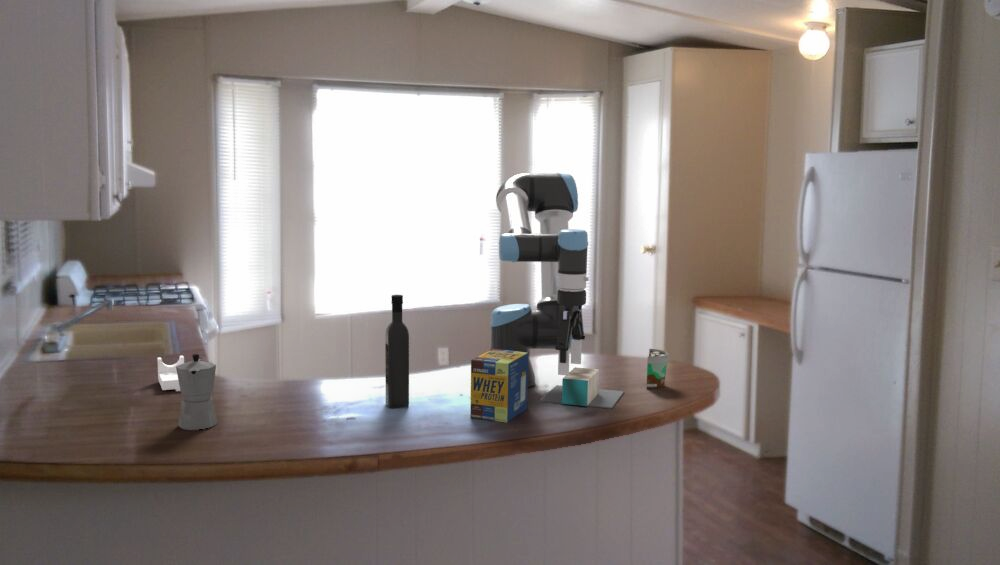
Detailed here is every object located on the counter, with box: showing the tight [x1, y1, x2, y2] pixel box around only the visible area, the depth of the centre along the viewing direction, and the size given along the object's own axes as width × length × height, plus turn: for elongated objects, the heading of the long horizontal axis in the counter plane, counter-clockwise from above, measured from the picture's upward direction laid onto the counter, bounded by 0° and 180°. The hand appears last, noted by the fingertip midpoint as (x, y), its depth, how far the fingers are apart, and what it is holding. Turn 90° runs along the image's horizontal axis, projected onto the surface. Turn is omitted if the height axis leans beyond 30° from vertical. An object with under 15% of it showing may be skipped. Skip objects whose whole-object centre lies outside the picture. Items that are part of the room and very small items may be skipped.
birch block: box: [561, 367, 600, 407], centre depth 256 cm, size 7×7×14 cm
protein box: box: [470, 348, 528, 424], centre depth 242 cm, size 10×15×16 cm
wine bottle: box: [384, 294, 410, 409], centre depth 246 cm, size 6×6×30 cm
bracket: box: [156, 355, 185, 392], centre depth 265 cm, size 13×7×8 cm, turn 25°
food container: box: [646, 348, 670, 390], centre depth 273 cm, size 12×6×10 cm, turn 168°
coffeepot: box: [176, 353, 218, 431], centre depth 228 cm, size 15×9×18 cm, turn 13°
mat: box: [539, 384, 625, 410], centre depth 260 cm, size 20×18×1 cm
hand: (569, 369), depth 243 cm, fingers open, 13 cm apart
